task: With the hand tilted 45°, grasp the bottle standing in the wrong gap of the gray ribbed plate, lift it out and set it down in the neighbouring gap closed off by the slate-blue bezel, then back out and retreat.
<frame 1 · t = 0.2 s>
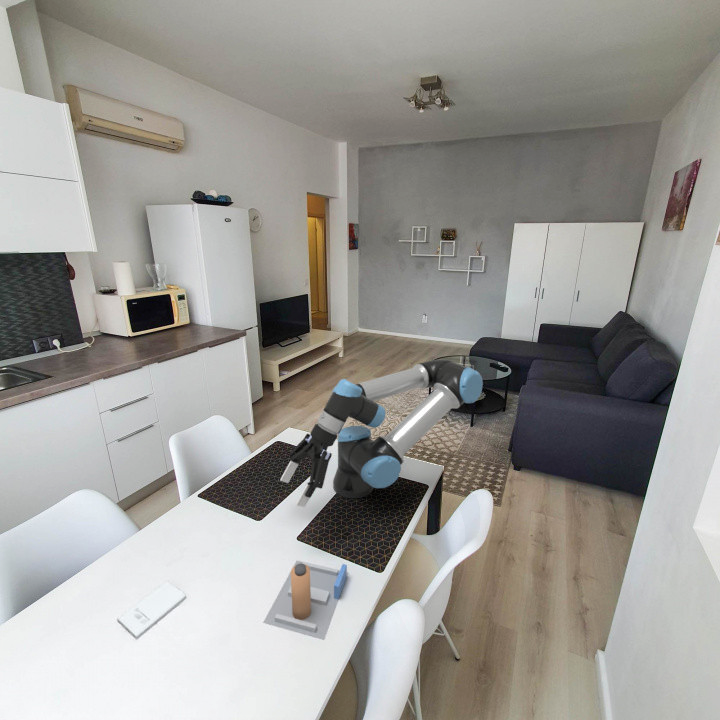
hand: (291, 493, 111), 16 cm above the table, tool tilted 35°, fingers open, 13 cm apart
external hard drive: (153, 611, 93), on the table
gray ribbed plate: (308, 599, 96), on the table
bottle: (301, 611, 91), point 1 cm above the table, touching gray ribbed plate
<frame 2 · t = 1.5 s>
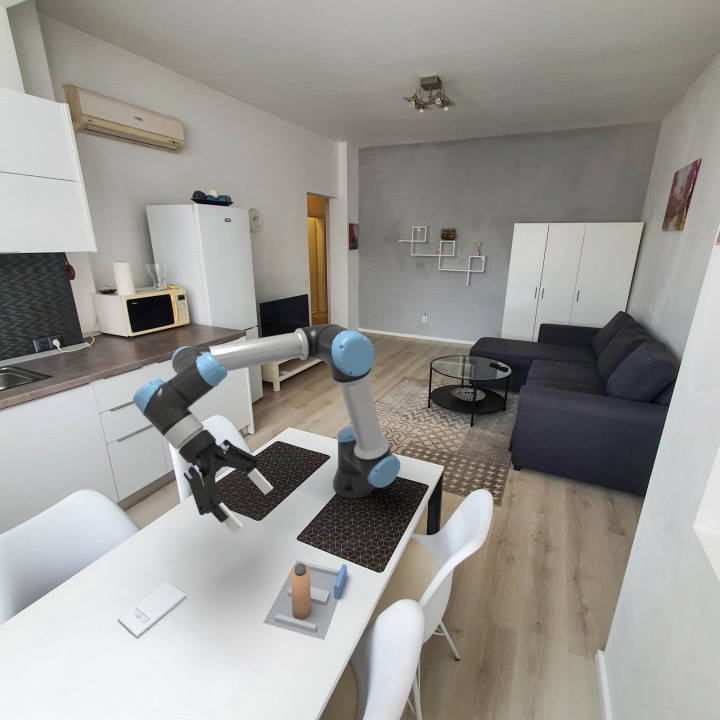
hand: (255, 508, 86), 28 cm above the table, tool tilted 45°, fingers open, 13 cm apart
nothing on the table moved.
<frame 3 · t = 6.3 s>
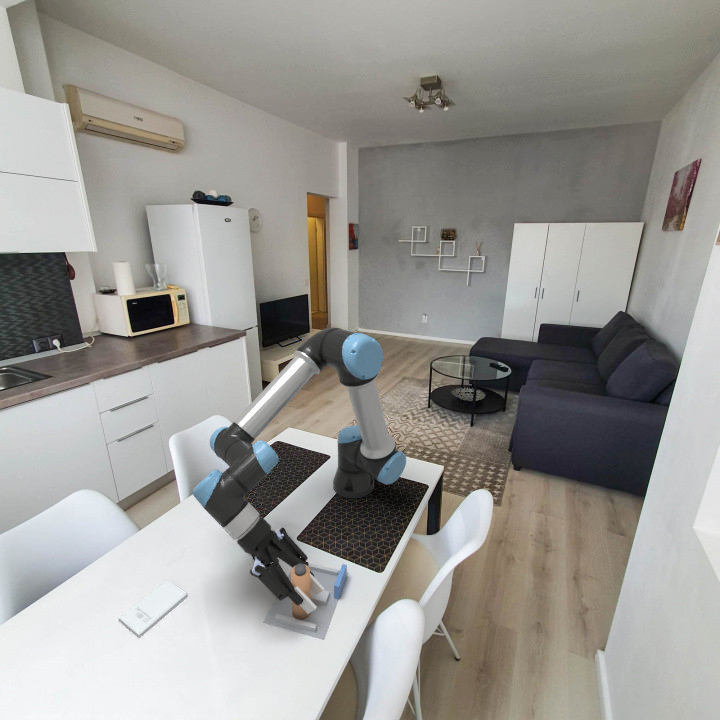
hand: (316, 600, 89), 6 cm above the table, tool tilted 45°, fingers closed on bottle, 4 cm apart
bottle: (301, 611, 91), point 1 cm above the table, touching gray ribbed plate, gripper
everything else where it was.
when the fingers open (7 cm above the table, at t = 12.5 s): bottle stays where it is, resting on gray ribbed plate.
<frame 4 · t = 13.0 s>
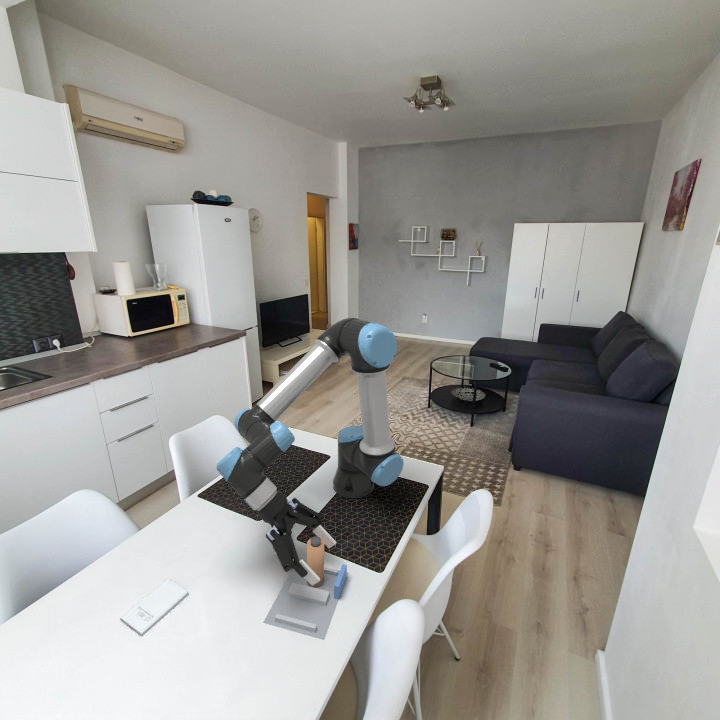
hand: (324, 562, 97), 8 cm above the table, tool tilted 45°, fingers open, 11 cm apart
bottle: (315, 580, 100), point 1 cm above the table, touching gray ribbed plate
everything else where it was.
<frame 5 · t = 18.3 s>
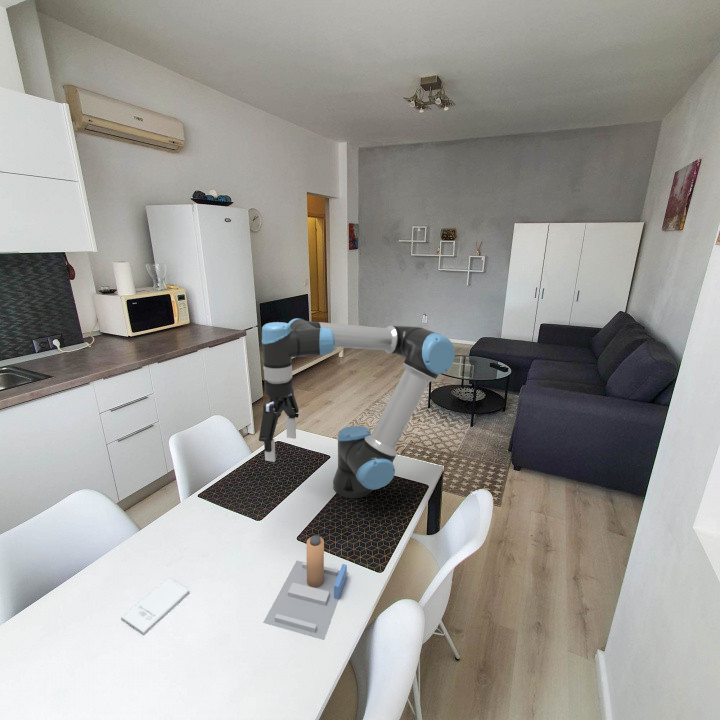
hand: (281, 448, 110), 29 cm above the table, tool pointing down, fingers open, 13 cm apart
nothing on the table moved.
at the end: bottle 0.0 cm from the target spot on the gray ribbed plate, point 1.3 cm above the gray ribbed plate's base; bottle tilted 2°; the gripper is holding nothing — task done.
